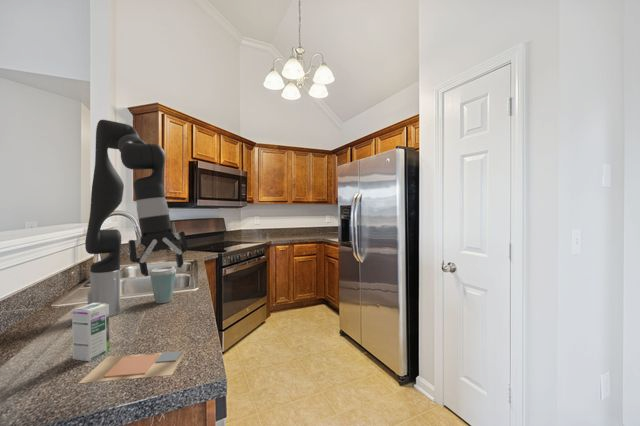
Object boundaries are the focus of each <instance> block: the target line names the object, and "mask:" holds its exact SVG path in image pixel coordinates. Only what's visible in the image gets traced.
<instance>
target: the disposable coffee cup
mask: <svg viewBox="0 0 640 426" xmlns="http://www.w3.org/2000/svg"><path fill="white" fill-rule="evenodd" d="M176 273H177V269H176V268H175V266H171V265H168V266H161V267H157V268H154V269H153V268H152V269H151V271H150V272H149V276H150V282H151V286H152V287H151V288H152V292H153V297H154V301H155V303H156V304H166V303H169V302H171V301H172V299H173V294H174V286H175V278H176V277H175V276H176Z"/></svg>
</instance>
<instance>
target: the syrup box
mask: <svg viewBox="0 0 640 426" xmlns="http://www.w3.org/2000/svg"><path fill="white" fill-rule="evenodd" d="M71 315H72V318H71V319H72V326H71V327H72V359H73V360H78V361H84V362H85V361H86V362H90V361H94V360H95V359H97V358H100V357H101V356H104V355H105V354H107V353H108V352H110V317H109V304H106V303H91V304H89V305H88V304H86V305H83V306H80V307H76V308H73V309H72V310H71Z"/></svg>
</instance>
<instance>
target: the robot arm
mask: <svg viewBox="0 0 640 426" xmlns="http://www.w3.org/2000/svg"><path fill="white" fill-rule="evenodd" d="M108 149H114V150H118V151H119V152H120V159H121V163H122V164H123V167H125V168H127V169H128V170H134V171H135V170H137V171H139V170H151V174H150V175H149V176H148V175H147V176H144V177H141V178H140V177H139V178H137V179H135V180H134V181H133V190H134V195H135V200H136V212H137V218H138V223H139V229H140V231H139V232H140V235H141V236H140V238H138V239H129V240H128V241H127V243H128V253H129V261H130V262H131V263H138V264H139V270H140V274H141V275H142V276H144V277H149V270H148V264H147V262H146V261H147V259H148V257H149V256H150V255H151V253H153V252H154V253H155V252H159V251H165V250H166V251H167V249H170V250H171V251H172V252H173V253H175V261H176V267H177V268H178V269H179V268H182V266H184V258H183V254H184V253H185V252H187V251H188V250H189V246H188V241H187V238H186V233H185V231H182V230H181V231H178V232H175V233H174V232H173V230H172V229H173V228H172V224H171V218H170V211H169V206H168V202H167V199H166V193H165V189H164V170H165V164H166V152H165V150H164V148H162V146H161V145H159V144H156V143H147V142H145V141H144V140H143V139H141V137H140V136H139V133H138V132H137V130H136V129H135V127H134V126H132V125H130V124H127V123H122V122H118V121H113V120H108V119H100V120H99V121H98V122H97V125H96V129H95V150H94V151H95V152H94V153H95V154H94V155H95V157H94V159H95V160H94V169H93V177H92V185H91V195H90V212H89V219H88V224H87V228H86V229H87V230H86V234H85V239H84V240H85V243H84V245H85V251H86V253H88V254H90V255H97V254H98V255H99V254H100V255H101V254H108V255H107V256H106V257H104V258H103V259H100V260H98V261H96V262H93V263H92V264H91V265H90V268H89V269H90V278H89V279H90V281H89V282H90V284H89V285H90V291H89V292H87V305H89V304H91V303H106V304H109V318H110V317H113V316H116V315H118V314H120V312H121V252H122V251H121V249H122V234H121V231H120V230H118V229H101V228H102V225H103V224H104V223H105V221H106V219H107V218H108V217H109V216H110V215H111V214H112V213H114V211H115V210H116V209H117V208H118V207H119V206H120V205H121V203H122V201H123V198H124V197H123V195H124V189H125V186H124V182H123V180H122V178H121V176H120V175H119V173H118V171H117V169H115V167H114V165H113V164H112V161H111V160H110V157H109V153H108V152H109V150H108ZM175 238H176V240H179V244H180V248H178V246H177V245H175V244H174V243H173V241H174V239H175ZM140 244H141V245H143V246H144V249H143V250H142V253H141V254H140V256H139V257H138V256H137V250H136V249H137V248H138V247H139V246H140Z"/></svg>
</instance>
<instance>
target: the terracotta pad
mask: <svg viewBox="0 0 640 426" xmlns="http://www.w3.org/2000/svg"><path fill="white" fill-rule="evenodd" d="M158 356H159V354H156V355H144V356H131V357H123V358H122V359H121V360H120V361H119V362H118V363H117V364H116V365H115V366H114V367H113V368H112V369H111V370H110V371H109V372H108V373H107V374H106V375H105V376H104V378H105V377H117V376H128V375H139V374H145V373H146V372H147V371H148V370H149V368H150V367H151V366H152V364H153V363H154V362H155V360H156V359H157V358H158Z"/></svg>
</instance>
